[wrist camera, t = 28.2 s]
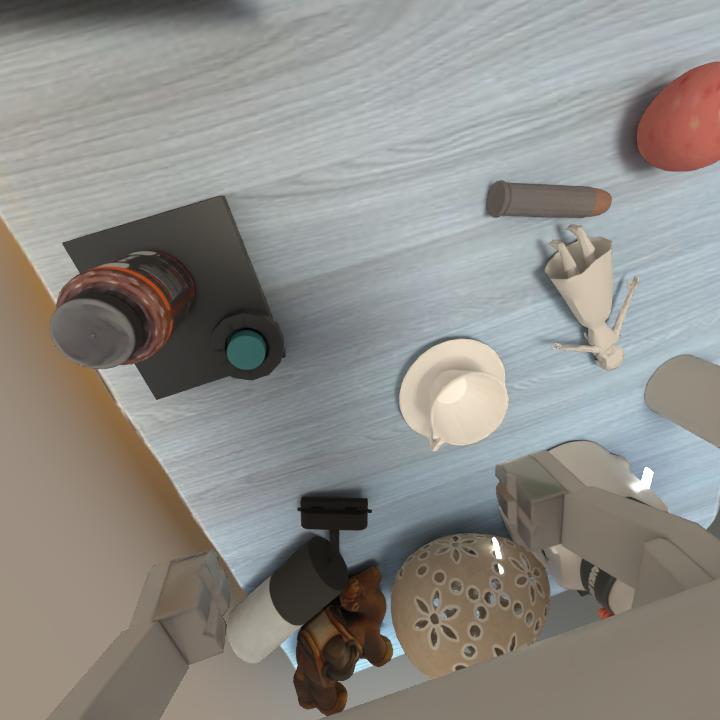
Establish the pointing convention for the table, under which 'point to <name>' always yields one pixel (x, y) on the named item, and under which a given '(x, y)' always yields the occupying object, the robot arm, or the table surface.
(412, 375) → the teacup
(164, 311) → the supplement bottle
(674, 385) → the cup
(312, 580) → the track light
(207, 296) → the black button pad
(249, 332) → the button
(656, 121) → the apple
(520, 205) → the grey cylindrical rod
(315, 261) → the table surface
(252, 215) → the table surface
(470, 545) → the ornament
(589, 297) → the woman figurine
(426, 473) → the table surface
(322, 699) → the figurine
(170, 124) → the table surface
